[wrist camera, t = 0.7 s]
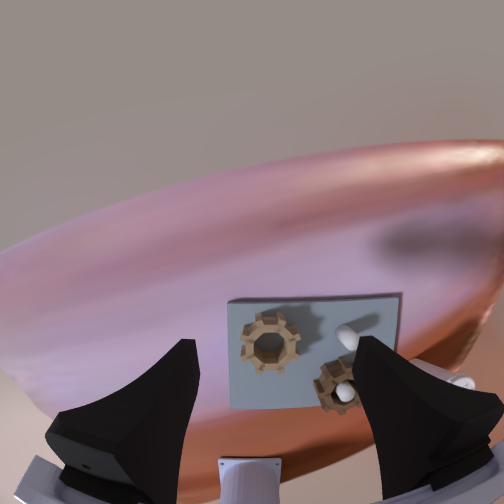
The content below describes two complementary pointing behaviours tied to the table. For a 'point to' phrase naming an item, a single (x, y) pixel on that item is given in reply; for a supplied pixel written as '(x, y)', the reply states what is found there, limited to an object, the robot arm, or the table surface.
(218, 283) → the table surface
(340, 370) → the walnut gear
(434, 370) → the smoothie
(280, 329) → the beech gear
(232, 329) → the gear board
